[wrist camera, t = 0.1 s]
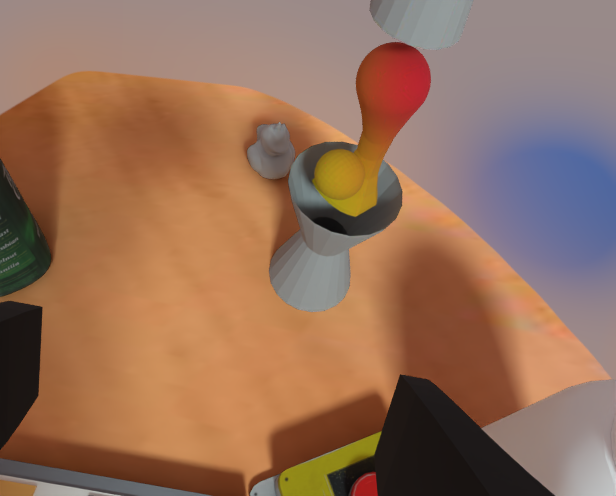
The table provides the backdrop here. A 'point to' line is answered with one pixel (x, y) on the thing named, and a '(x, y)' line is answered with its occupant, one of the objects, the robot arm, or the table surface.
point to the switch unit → (71, 483)
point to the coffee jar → (19, 240)
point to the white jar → (566, 439)
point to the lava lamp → (361, 156)
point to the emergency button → (328, 474)
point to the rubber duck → (272, 151)
